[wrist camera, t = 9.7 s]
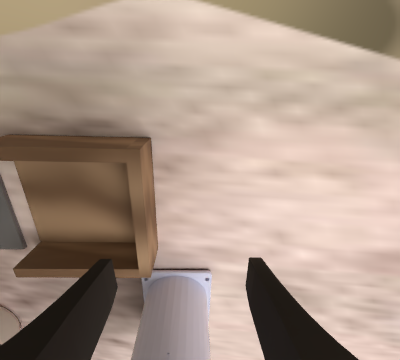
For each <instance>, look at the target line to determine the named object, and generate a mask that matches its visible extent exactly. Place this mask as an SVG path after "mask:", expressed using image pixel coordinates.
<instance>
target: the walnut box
mask: <svg viewBox="0 0 400 360" xmlns="http://www.w3.org/2000/svg"><path fill="white" fill-rule="evenodd" d="M0 161H14V163H15V166H16V169H17V172H18V175H19V178H20V181H21V184H22V187H23V190H24V193H25V196H26V199H27V202H28V205H29V208H30V211H31V214H32V217H33V220H34V223H35V226H36V229H37V232H38V235H39V238H40V241H41V242H40V243H39V244H38V245H37V246H36V247H35V248H34V249H33V250H32V251H31V252H30V253H29V254H28V255H27V256H26V257H25V258H24V259H23V260H22V261H20V262H19V263H18V264H17V265H16V266H15V267H14V268H13V270H14V273H15V275H16V277H79V278H81V277H82V276H83V275H84V274H85V273H86V272H87V271H88V270H89V269H90V268H91V267H92V266H93V265H94V264H95V263H96V262H97V261H98V260H99V259H112V262H113V267H114V272H115V277H116V278H151V275H152V271H153V267H154V262H155V258H156V254H157V250H158V240H157V224H156V209H155V193H154V178H153V162H152V147H151V138H137V137H93V136H48V135H5V136H1V137H0Z"/></svg>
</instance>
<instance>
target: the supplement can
mask: <svg viewBox="0 0 400 360" xmlns="http://www.w3.org/2000/svg"><path fill="white" fill-rule="evenodd" d="M19 327H20V324H19V321H18V319H17V318H16V316H15V315H14V314H13V313H12V312H10V311H9V310H7V309H6V308H4V307H1V306H0V346H1V345H2V344H3V343H5V342H6V341H8V340H9V339H10V338H12V337H13V336H14V335H16V334H17V333H18V332H19V331H20V328H19Z"/></svg>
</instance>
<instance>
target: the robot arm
mask: <svg viewBox="0 0 400 360" xmlns="http://www.w3.org/2000/svg"><path fill="white" fill-rule="evenodd" d="M211 279H212V274H211V272H210V271H208V270H153V271H152V275H151V278H141V280H142V289H143V298H144V308H143V312H142V316H141V320H140V324H139V328H138V332H137V337H136V341H135V345H134V349H133V353H132V357H131V360H210V342H209V310H210V294H211ZM116 291H117V282H116V277H115V272H114V267H113V262H112V259H99V260H98V261H97V262H96V263H95V264H94V265H93V266H92V267H91V268H90V269H89V270H88V271H87V272H86V273H85V274H84V275H83V276H82V277H81V278H80V279H79V280H78V281H77V282H76V283H75V284H74V285H72V286H71V287H70V288H69V289H68V290H67V291H66V292H65V293H64V294H63V295H62V296H61V297H60V298H59V299H57V300H56V301H55V302H54V303H53V304H52V305H51V306H50V307H48V308H47V309H46V310H45V311H44V312H43V313H42V314H40V315H39V316H38V317H37V318H36V319H34V320H33V321H32V322H31V323H30V324H28V325H27V326H26V327H24V328H23V329H22V330H21V331H19V332H18V333H17V334H16V335H14V336H13V337H12V338H10V339H9V340H8V341H6V342H5V343H3V344H2V345H1V346H0V360H91V357H92V355H93V352H94V350H95V347H96V345H97V343H98V340H99V338H100V335H101V333H102V330H103V328H104V326H105V323H106V321H107V318H108V316H109V313H110V311H111V308H112V305H113V302H114V298H115V295H116ZM246 291H247V296H248V302H249V307H250V310H251V314H252V317H253V321H254V324H255V327H256V331H257V334H258V338H259V341H260V344H261V348H262V351H263V355H264V358H265V360H358V359H357V358H356V357H355V356H354V355H352V354H351V353H350V352H349V351H348V350H347V349H345V348H344V347H343V346H342V345H341V344H339V343H338V342H337V341H336V340H335V339H334V338H333V337H332V336H331V335H330V334H328V333H327V332H326V331H325V330H324V329H323V328H322V327H321V326H320V325H319V324H318V323H317V322H316V321H315V320H314V319H313V318H312V317H311V316H310V315H309V314H308V313H307V312H306V311H305V310H304V309H303V308H302V307H301V305H300V304H299V303H298V302H297V301H296V300H295V299H294V298H293V297H292V295H291V294H290V293H289V292H288V291H287V290H286V288H285V287H284V286H283V285H282V284H281V282H280V281H279V280H278V279H277V278H276V276H275V275H274V274H273V272H272V271H271V270H270V269H269V267H268V266H267V265H266V263H265V262H264V261H263V259H262V258H249V263H248V271H247V279H246Z"/></svg>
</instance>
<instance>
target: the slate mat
mask: <svg viewBox="0 0 400 360" xmlns="http://www.w3.org/2000/svg"><path fill="white" fill-rule="evenodd" d="M26 247H27V246H26V243H25V241H24V238H23V235H22V232H21V230H20V227H19V224H18V222H17V219H16V216H15V213H14V211H13V208H12V205H11V203H10V200H9V197H8V195H7V192H6V189H5V186H4V184H3V181H2V178H1V176H0V249H25V248H26Z"/></svg>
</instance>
